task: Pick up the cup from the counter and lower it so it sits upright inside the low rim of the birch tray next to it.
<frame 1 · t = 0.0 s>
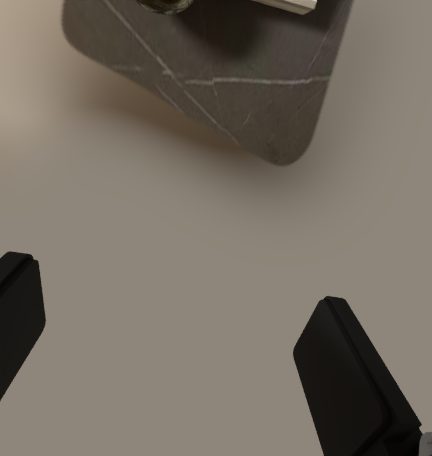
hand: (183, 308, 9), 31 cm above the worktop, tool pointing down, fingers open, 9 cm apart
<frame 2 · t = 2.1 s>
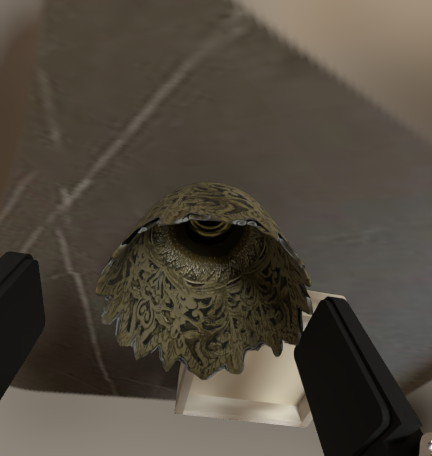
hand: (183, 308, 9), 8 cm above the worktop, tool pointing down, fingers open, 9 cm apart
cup: (209, 211, 17), on the worktop, touching gripper
birch tray: (254, 334, 22), on the worktop
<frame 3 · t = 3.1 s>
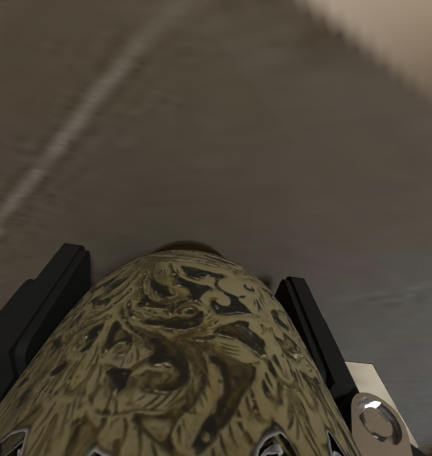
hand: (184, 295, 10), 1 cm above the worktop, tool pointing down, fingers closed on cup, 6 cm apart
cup: (187, 268, 11), on the worktop, touching gripper
birch tray: (253, 408, 16), on the worktop
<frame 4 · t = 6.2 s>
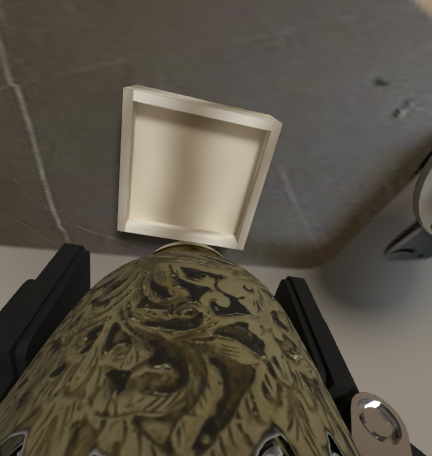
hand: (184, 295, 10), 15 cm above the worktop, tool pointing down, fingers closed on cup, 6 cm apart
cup: (187, 269, 11), point 14 cm above the worktop, touching gripper
birch tray: (194, 166, 23), on the worktop
when the fingers open (5 cm above the worktop, at t = 9.2 s): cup drops 1 cm, resting on birch tray.
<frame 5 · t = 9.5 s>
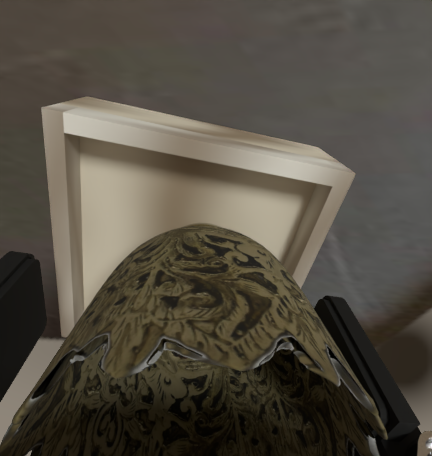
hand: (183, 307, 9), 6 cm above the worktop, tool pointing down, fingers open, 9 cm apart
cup: (202, 249, 13), point 2 cm above the worktop, touching birch tray
birch tray: (189, 223, 15), on the worktop
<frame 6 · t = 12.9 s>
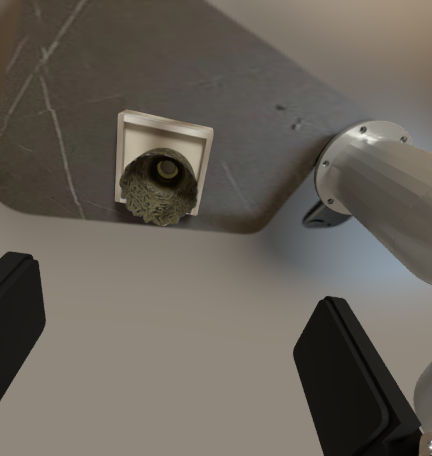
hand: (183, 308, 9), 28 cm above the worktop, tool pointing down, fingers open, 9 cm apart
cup: (168, 166, 33), point 2 cm above the worktop, touching birch tray
birch tray: (165, 160, 35), on the worktop
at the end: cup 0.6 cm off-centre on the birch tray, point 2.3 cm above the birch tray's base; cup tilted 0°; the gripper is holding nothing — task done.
